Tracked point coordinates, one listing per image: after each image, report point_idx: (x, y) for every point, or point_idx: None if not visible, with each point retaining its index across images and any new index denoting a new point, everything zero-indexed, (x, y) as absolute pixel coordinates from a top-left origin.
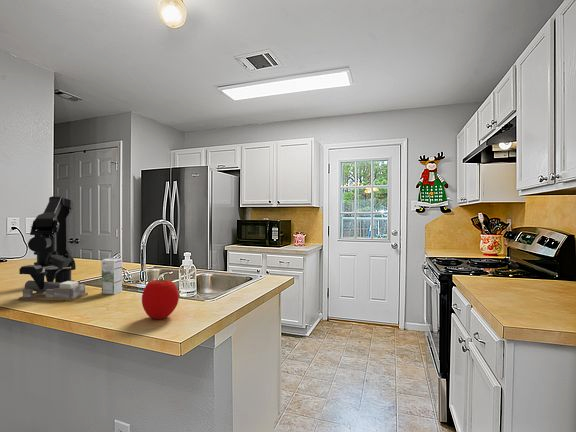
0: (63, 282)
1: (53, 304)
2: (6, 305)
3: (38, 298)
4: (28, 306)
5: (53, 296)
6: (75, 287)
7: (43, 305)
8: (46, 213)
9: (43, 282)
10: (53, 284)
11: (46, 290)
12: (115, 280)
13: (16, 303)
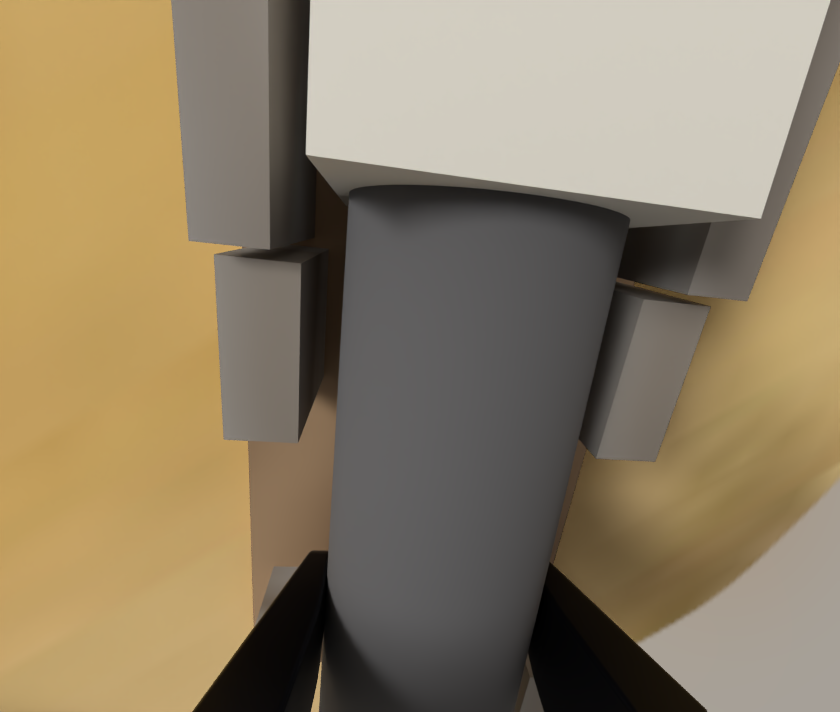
0: (612, 163)
1: (833, 129)
2: (693, 602)
3: (577, 464)
4: (812, 394)
5: (619, 281)
6: None
7: (834, 246)
8: None
9: (633, 678)
10: (569, 450)
11: (648, 440)
12: None
13: (641, 573)
